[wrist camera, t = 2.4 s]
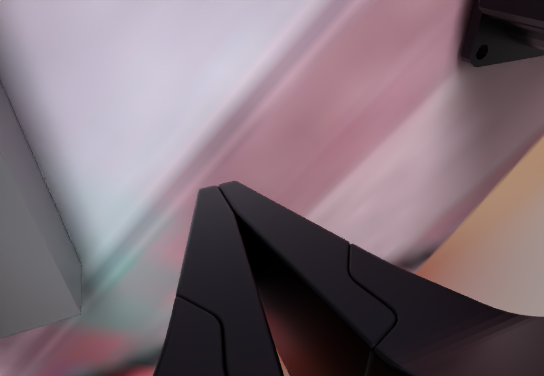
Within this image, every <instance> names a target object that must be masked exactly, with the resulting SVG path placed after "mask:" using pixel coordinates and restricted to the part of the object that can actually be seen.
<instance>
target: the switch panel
mask: <svg viewBox="0 0 544 376" xmlns="http://www.w3.org/2000/svg"><path fill="white" fill-rule="evenodd" d="M81 286H82V265H81V263H80V261H79V259H78V256H77V254H76V252H75V249H74V247H73V245H72V243H71V240H70V238H69V236H68V234H67V231H66V229H65V227H64V225H63V222H62V220H61V218H60V215H59V213H58V211H57V209H56V206H55V204H54V202H53V200H52V197H51V195H50V193H49V191H48V188H47V186H46V184H45V182H44V179H43V177H42V175H41V172H40V170H39V168H38V166H37V163H36V161H35V159H34V157H33V154H32V152H31V150H30V148H29V145H28V143H27V141H26V138H25V136H24V134H23V132H22V129H21V127H20V125H19V123H18V120H17V118H16V116H15V114H14V111H13V109H12V107H11V104H10V102H9V100H8V98H7V95H6V93H5V91H4V89H3V86H2V84H1V82H0V338H4V337H7V336H10V335H14V334H17V333H20V332H24V331H27V330H30V329H34V328H37V327H40V326H44V325H47V324H50V323H54V322H57V321H60V320H64V319H67V318H70V317H74V316H77V315H80V314H81Z"/></svg>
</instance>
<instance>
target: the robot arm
mask: <svg viewBox="0 0 544 376" xmlns="http://www.w3.org/2000/svg"><path fill="white" fill-rule="evenodd" d="M543 55H544V0H475V3H474V7H473V11H472V14H471V18H470V22H469V26H468V30H467V34H466V37H465V41H464V45H463V49H462V54H461V57H462V61H463V62H464V63H466V64H468V65H471V66H474V67H481V66H486V65H492V64H498V63H503V62H509V61H515V60H521V59H526V58H532V57H538V56H543ZM276 349H277V351H278V353H279V355H280V356H281V359H282V361H283V363H284V365H285V366H286V369H287V371H288V373H289V375H290V376H544V317H535V316H526V315H519V314H514V313H510V312H506V311H503V310H499V309H496V308H493V307H491V306H488V305H486V304H483V303H481V302H478V301H476V300H474V299H471V298H469V297H467V296H464V295H462V294H460V293H457V292H455V291H452V290H450V289H448V288H446V287H443V286H441V285H439V284H436V283H434V282H431V281H429V280H427V279H425V278H422V277H420V276H418V275H415V274H413V273H411V272H409V271H407V270H404V269H402V268H400V267H398V266H396V265H393V264H391V263H389V262H387V261H385V260H383V259H381V258H379V257H377V256H375V255H373V254H371V253H369V252H367V251H366V250H364V249H362V248H360V247H358V246H356V245H354V244H350V243H349V242H348V241H347V240H345V239H343V238H341V237H339V236H337V235H336V234H334V233H332V232H330V231H328V230H326V229H324V228H322V227H321V226H319V225H317V224H315V223H313V222H311V221H309V220H308V219H306V218H304V217H302V216H300V215H298V214H296V213H295V212H293V211H291V210H289V209H287V208H285V207H283V206H282V205H280V204H278V203H276V202H274V201H272V200H270V199H269V198H267V197H265V196H263V195H261V194H259V193H257V192H256V191H254V190H252V189H250V188H248V187H246V186H244V185H243V184H241V183H239V182H237V181H232V182H227V183H223V184H220V185H219V186H218V187H217V186H210V187H206V188H201V189H199V191H198V194H197V199H196V204H195V208H194V213H193V218H192V222H191V227H190V232H189V236H188V241H187V246H186V250H185V255H184V260H183V264H182V269H181V274H180V278H179V283H178V288H177V292H176V298H175V301H174V305H173V310H172V315H171V319H170V322H169V326H168V330H167V334H166V338H165V341H164V344H163V347H162V350H161V353H160V356H159V359H158V362H157V365H156V368H155V371H154V374H153V376H284V374H283V370H282V367H281V364H280V361H279V357H278V354H277V351H276Z"/></svg>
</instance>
